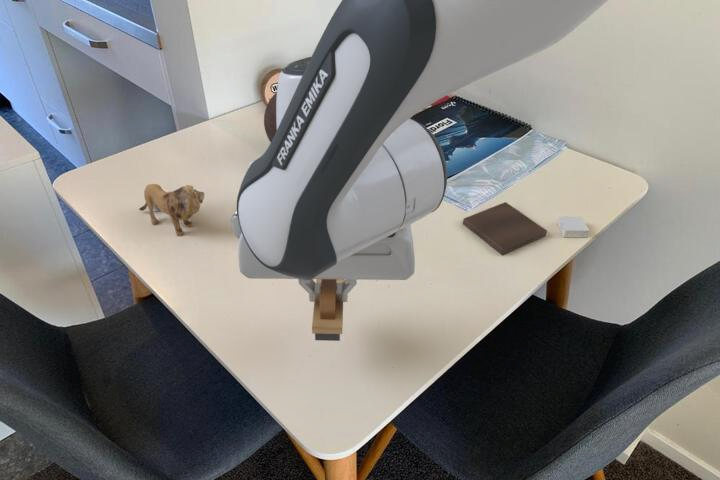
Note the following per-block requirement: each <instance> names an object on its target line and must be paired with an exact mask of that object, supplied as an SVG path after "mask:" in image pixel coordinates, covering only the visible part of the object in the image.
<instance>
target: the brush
mask: <svg viewBox="0 0 720 480" xmlns="http://www.w3.org/2000/svg"><path fill="white" fill-rule="evenodd" d="M344 280H345V279H315V283H321V292H320V302H313V313H312V323H311V333H312V334H314V340H315V341H324V342H325V341H326V342H329V341H331V342H333V341H334V342H339V341H341V335H343V327H344V326H343V324H344V323H343V322H344V302H336V283H343V281H344Z"/></svg>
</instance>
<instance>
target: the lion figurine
mask: <svg viewBox="0 0 720 480" xmlns="http://www.w3.org/2000/svg"><path fill="white" fill-rule="evenodd" d="M143 192H144V193H143V197H144V201H145V203H144V205H143V206H141V207H140V208H138V210H139V211H142V212H143V211H145V210H146V209H147V208H148V214H149V217H150V222H151V225H157V224H158V223H159V220H158V218H156V216H155V212H160V211H161V212H162V213H164V214H165V215H168V216H169V218H170V220H171V222H172V225H173V227H174V230H175V234H176V236H177V237H181V236H183V235H184V234H185V232H184V231H183V228H182V227H181V224H180V221H182V223H183V226H184V227H187V228H191V227H192V226H193V222H192V221H189V219H191V218H192V217H193V216H194V215H195V214H197V213H198V212H199V211H200V209H201V204H203V203H204V200H205V192H204V191H199V190H197V189H194V186H193V185H189V184H186V185H182V186H180V187H178V188H177V189H175V190H173V191H168V192H167V191H165V190H164V189H163V188H162V187H161V185H159V184H156V183H149V184H147V185H146V186H145V188H144V191H143Z"/></svg>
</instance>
